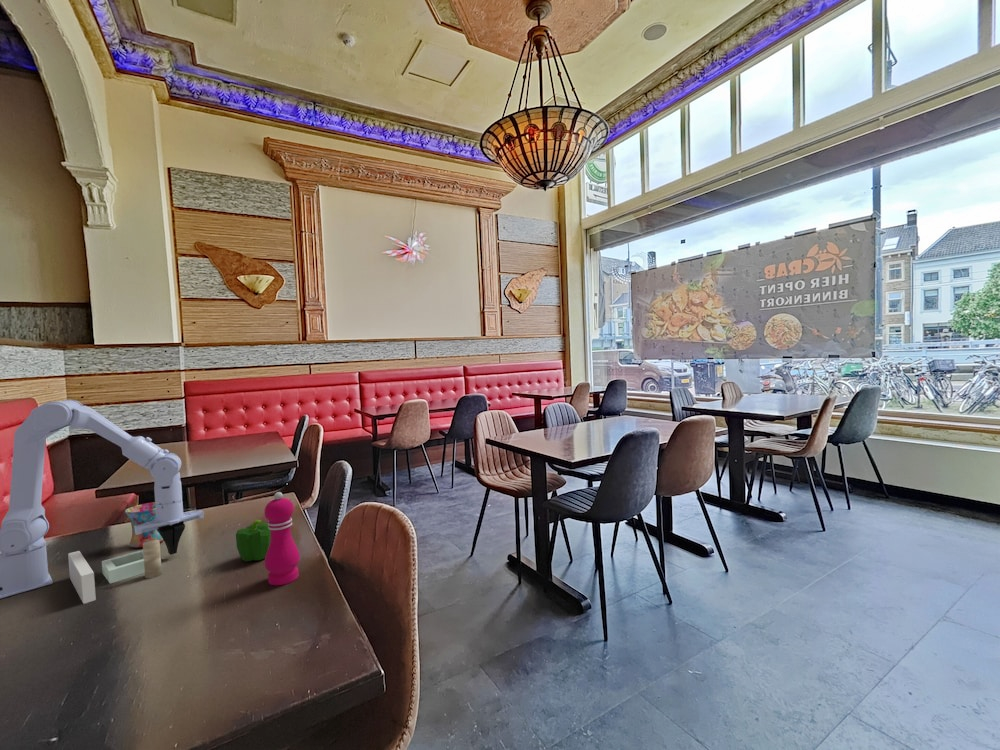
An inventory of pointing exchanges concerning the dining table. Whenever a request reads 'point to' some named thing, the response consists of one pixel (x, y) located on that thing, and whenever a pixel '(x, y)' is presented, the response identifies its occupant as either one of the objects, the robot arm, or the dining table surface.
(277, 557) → the pepper mill
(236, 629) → the dining table surface
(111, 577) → the socket block
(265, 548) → the bell pepper
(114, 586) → the dining table surface
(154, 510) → the mug
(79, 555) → the wall
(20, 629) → the dining table surface
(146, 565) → the dowel
